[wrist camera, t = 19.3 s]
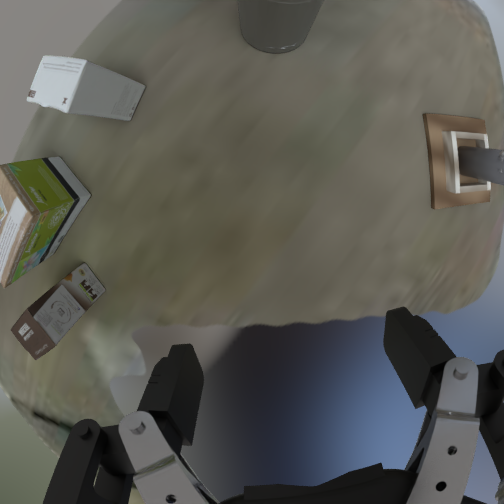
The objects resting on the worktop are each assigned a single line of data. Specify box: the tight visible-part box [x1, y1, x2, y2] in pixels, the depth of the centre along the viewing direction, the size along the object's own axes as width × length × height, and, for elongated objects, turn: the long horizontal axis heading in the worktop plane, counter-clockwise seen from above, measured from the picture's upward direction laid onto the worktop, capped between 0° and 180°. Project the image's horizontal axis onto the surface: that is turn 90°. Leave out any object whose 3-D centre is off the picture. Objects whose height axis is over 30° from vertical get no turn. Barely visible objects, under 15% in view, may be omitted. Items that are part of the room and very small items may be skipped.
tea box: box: [0, 157, 91, 288], centre depth 30 cm, size 15×10×15 cm, turn 132°
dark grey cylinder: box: [457, 146, 504, 185], centre depth 26 cm, size 5×5×12 cm
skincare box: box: [27, 55, 146, 121], centre depth 24 cm, size 8×6×15 cm
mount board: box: [423, 114, 491, 209], centre depth 31 cm, size 15×15×4 cm
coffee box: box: [11, 263, 105, 360], centre depth 34 cm, size 9×6×16 cm
